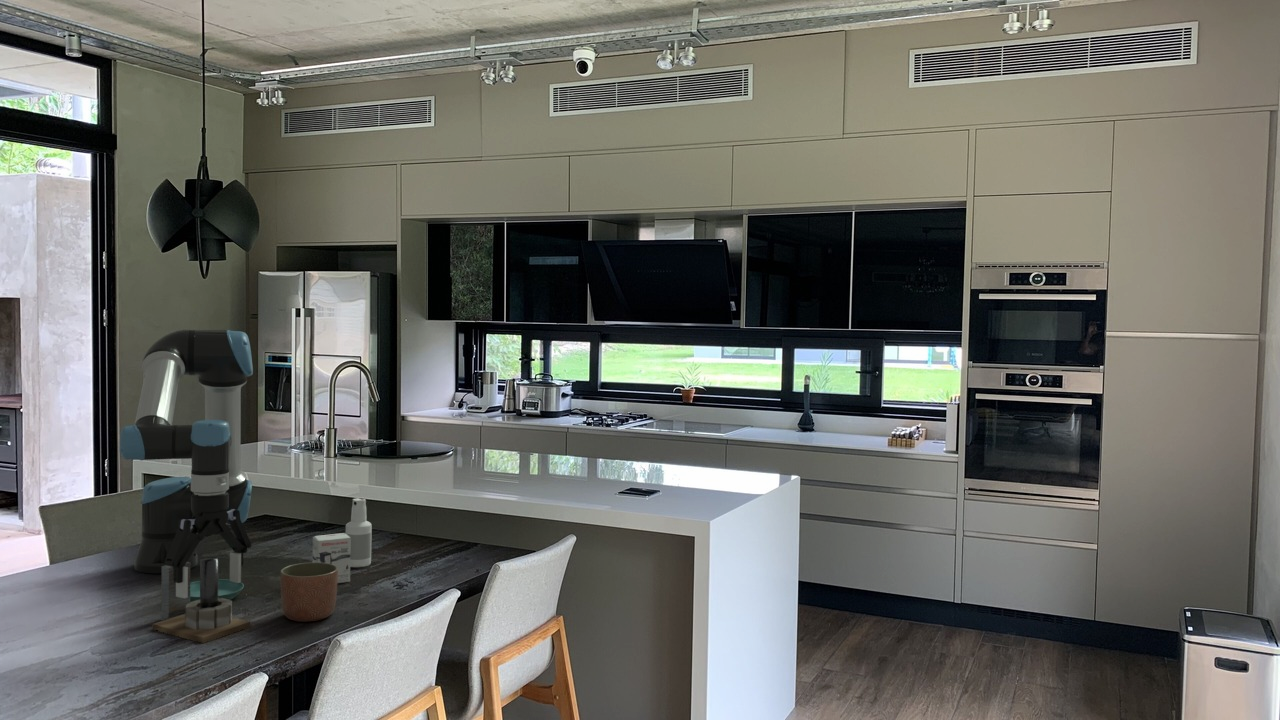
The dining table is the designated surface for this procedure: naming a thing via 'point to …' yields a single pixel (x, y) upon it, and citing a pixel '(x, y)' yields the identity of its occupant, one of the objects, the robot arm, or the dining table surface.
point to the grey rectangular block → (172, 594)
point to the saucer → (224, 589)
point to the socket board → (198, 634)
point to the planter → (308, 591)
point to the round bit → (209, 582)
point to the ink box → (334, 553)
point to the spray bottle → (359, 535)
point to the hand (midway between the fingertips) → (209, 589)
